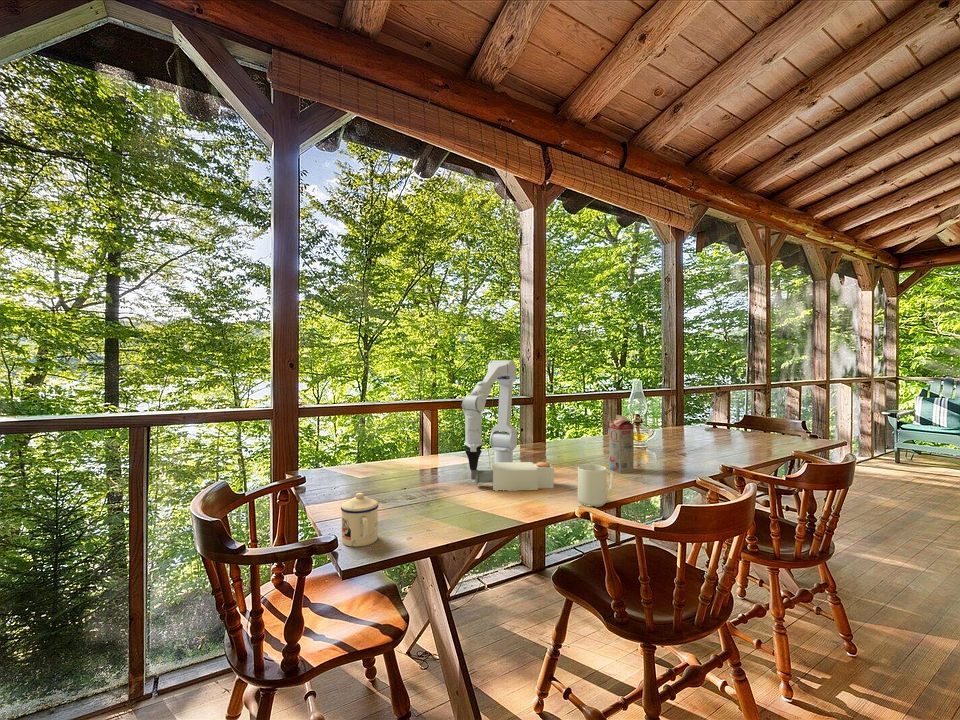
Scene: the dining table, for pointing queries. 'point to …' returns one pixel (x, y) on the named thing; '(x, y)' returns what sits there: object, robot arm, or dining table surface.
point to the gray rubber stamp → (482, 476)
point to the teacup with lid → (359, 521)
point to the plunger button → (543, 464)
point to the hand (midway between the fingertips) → (473, 468)
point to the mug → (593, 484)
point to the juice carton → (621, 445)
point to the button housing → (521, 476)
